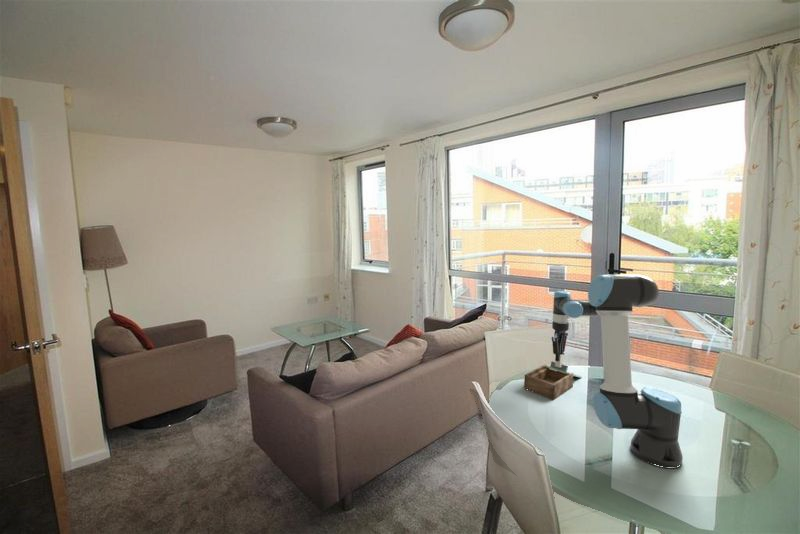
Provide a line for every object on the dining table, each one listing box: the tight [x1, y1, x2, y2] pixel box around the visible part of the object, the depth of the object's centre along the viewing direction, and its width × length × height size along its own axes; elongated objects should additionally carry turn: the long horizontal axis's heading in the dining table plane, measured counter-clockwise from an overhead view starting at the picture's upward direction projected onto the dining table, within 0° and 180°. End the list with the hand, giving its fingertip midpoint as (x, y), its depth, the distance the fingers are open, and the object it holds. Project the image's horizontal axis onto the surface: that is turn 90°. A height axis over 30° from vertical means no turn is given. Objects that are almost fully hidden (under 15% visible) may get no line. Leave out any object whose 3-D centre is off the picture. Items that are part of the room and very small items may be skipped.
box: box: [523, 363, 575, 401], centre depth 179 cm, size 20×15×7 cm
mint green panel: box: [545, 361, 583, 379], centre depth 190 cm, size 17×12×4 cm
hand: (558, 366), depth 184 cm, fingers closed
